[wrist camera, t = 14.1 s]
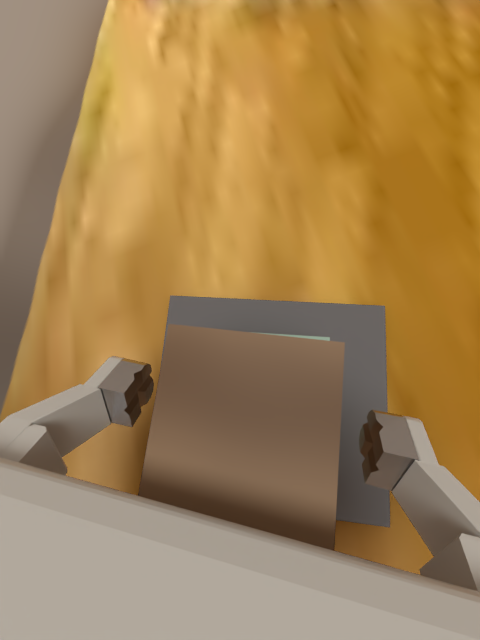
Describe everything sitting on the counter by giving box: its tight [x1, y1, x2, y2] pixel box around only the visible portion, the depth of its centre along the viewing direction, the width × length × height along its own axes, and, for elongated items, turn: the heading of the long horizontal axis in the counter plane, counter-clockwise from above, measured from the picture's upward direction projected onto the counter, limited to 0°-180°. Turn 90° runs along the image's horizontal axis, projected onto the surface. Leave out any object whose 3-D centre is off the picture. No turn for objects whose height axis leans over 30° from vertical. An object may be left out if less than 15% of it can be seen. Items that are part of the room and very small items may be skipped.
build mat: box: [160, 296, 390, 527], centre depth 21 cm, size 15×17×1 cm
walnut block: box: [138, 324, 345, 551], centre depth 12 cm, size 5×5×9 cm
